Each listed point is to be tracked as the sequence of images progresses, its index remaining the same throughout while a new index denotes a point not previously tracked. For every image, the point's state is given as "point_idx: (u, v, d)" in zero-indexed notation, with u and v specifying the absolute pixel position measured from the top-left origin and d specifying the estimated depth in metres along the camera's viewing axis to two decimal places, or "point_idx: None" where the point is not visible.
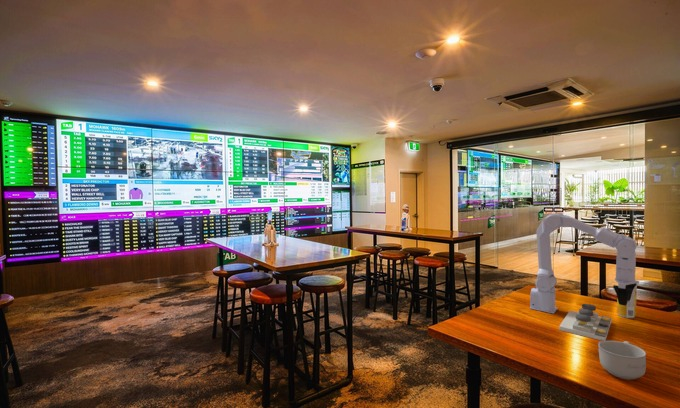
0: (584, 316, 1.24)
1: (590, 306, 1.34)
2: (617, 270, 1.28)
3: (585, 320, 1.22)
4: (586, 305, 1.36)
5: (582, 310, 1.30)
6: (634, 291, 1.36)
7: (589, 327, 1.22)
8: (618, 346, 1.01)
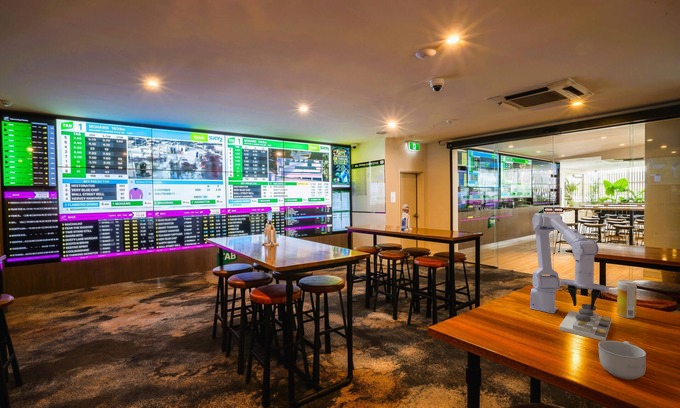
0: (584, 316, 1.24)
1: (590, 306, 1.34)
2: None
3: (585, 320, 1.22)
4: (586, 305, 1.36)
5: (582, 310, 1.30)
6: (634, 291, 1.36)
7: (589, 327, 1.22)
8: (618, 346, 1.01)
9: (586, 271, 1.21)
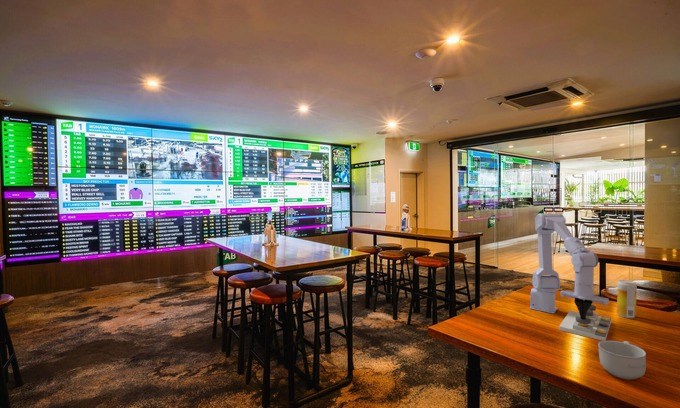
0: None
1: (590, 306, 1.34)
2: None
3: (585, 322, 1.22)
4: None
5: None
6: (634, 291, 1.36)
7: (589, 327, 1.22)
8: (618, 346, 1.01)
9: (586, 283, 1.21)
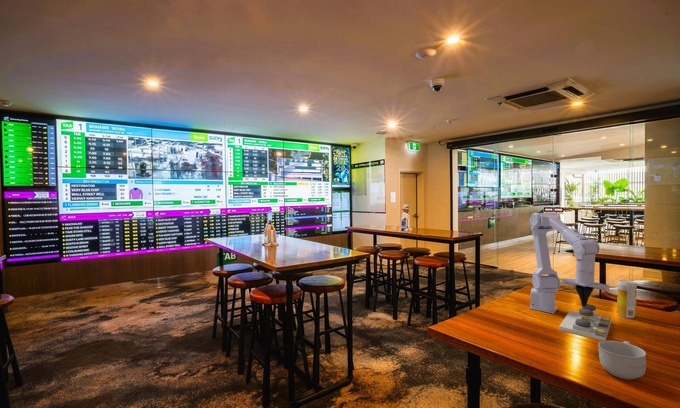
0: (584, 322, 1.24)
1: (590, 306, 1.34)
2: None
3: (585, 325, 1.23)
4: None
5: (582, 310, 1.30)
6: (634, 291, 1.36)
7: (589, 327, 1.22)
8: (618, 346, 1.01)
9: (588, 270, 1.23)
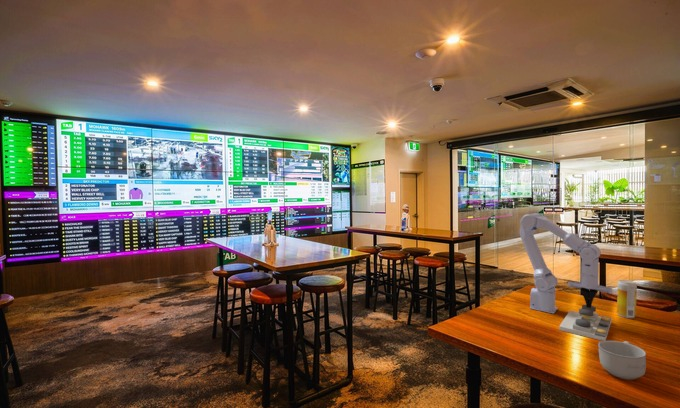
0: (584, 322, 1.24)
1: None
2: None
3: (585, 325, 1.23)
4: (586, 306, 1.36)
5: (582, 310, 1.30)
6: (634, 291, 1.36)
7: (589, 327, 1.22)
8: (618, 346, 1.01)
9: (596, 274, 1.32)
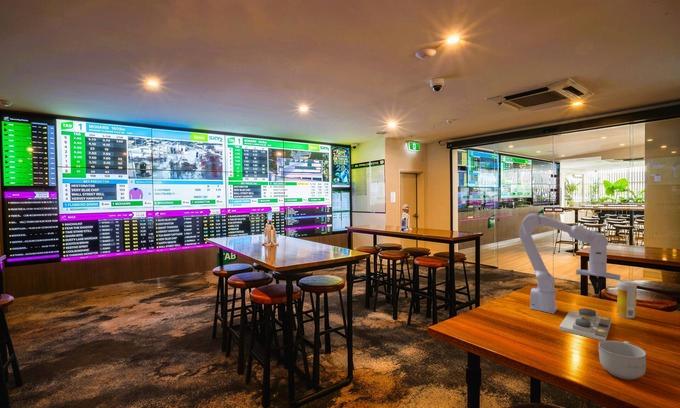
0: (584, 322, 1.24)
1: None
2: None
3: (585, 325, 1.23)
4: None
5: (582, 310, 1.30)
6: (634, 291, 1.36)
7: (589, 327, 1.22)
8: (618, 346, 1.01)
9: (606, 261, 1.35)
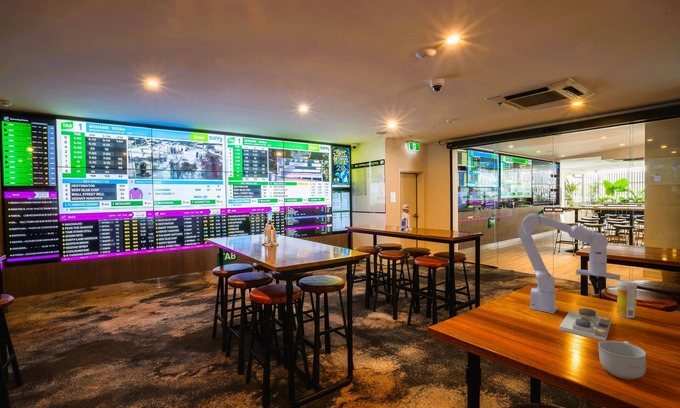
0: (584, 322, 1.24)
1: None
2: None
3: (585, 325, 1.23)
4: None
5: (582, 310, 1.30)
6: (634, 291, 1.36)
7: (589, 327, 1.22)
8: (618, 346, 1.01)
9: (606, 261, 1.35)
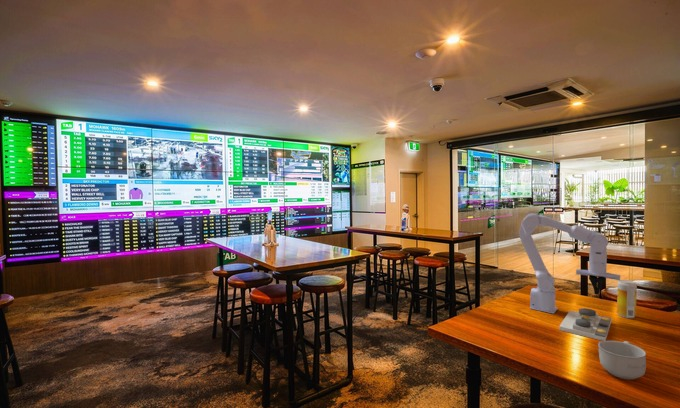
0: (584, 322, 1.24)
1: None
2: None
3: (585, 325, 1.23)
4: None
5: (582, 310, 1.30)
6: (634, 291, 1.36)
7: (589, 327, 1.22)
8: (618, 346, 1.01)
9: (606, 261, 1.35)
